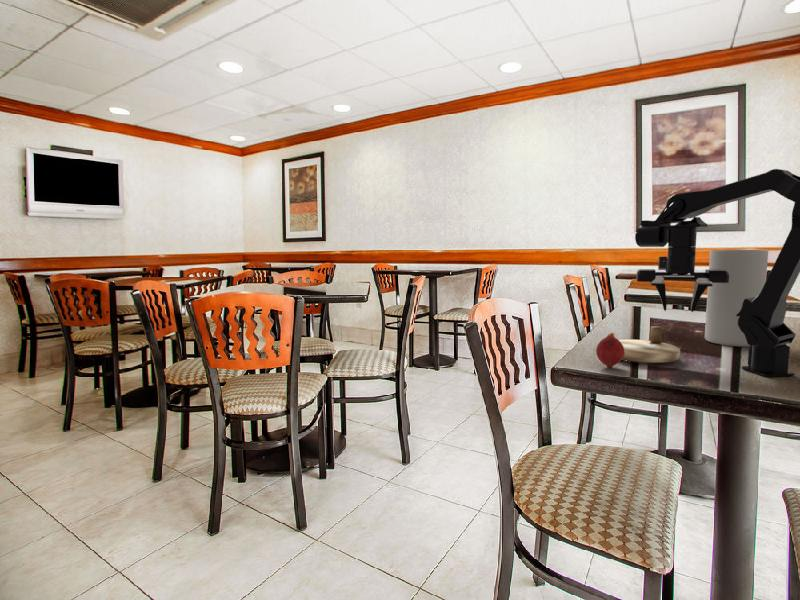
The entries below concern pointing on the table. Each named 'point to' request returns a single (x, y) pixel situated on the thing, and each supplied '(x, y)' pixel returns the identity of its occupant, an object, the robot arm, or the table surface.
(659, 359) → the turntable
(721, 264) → the cylinder vase
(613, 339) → the onion
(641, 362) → the susan base
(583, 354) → the table surface
